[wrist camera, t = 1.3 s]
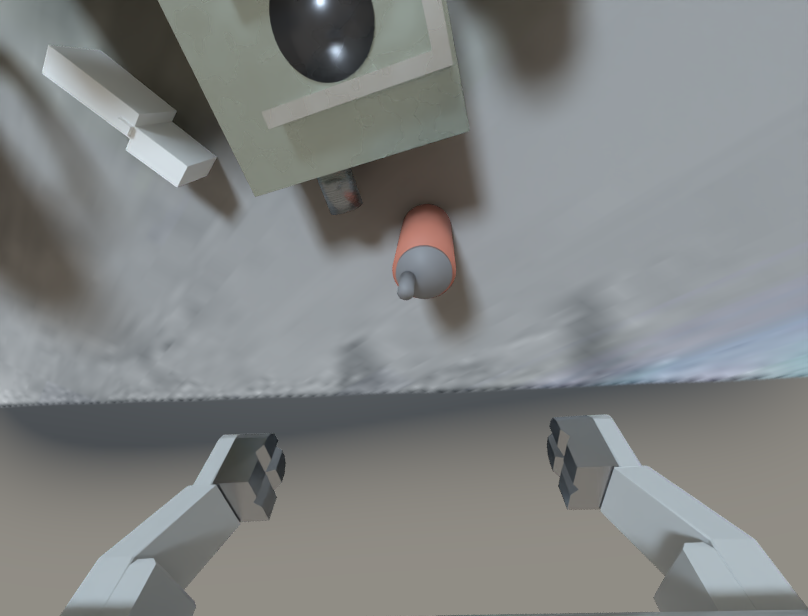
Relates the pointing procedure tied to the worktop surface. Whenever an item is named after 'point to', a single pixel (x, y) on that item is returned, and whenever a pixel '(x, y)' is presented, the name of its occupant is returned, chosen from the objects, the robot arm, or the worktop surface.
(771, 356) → the worktop surface
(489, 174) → the worktop surface
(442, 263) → the spout can
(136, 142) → the white stepped block
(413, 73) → the pale green square box
